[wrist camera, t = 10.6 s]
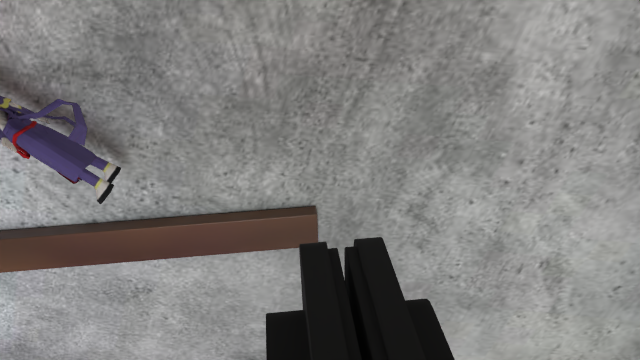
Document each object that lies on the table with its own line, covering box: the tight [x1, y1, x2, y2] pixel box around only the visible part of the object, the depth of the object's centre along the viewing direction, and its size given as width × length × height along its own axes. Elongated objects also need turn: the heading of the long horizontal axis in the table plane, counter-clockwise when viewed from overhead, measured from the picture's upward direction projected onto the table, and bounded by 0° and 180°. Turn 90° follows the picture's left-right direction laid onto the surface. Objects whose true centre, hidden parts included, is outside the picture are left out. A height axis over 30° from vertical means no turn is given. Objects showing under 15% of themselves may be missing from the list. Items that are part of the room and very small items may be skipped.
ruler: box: [0, 206, 318, 273], centre depth 31 cm, size 2×26×1 cm, turn 91°
